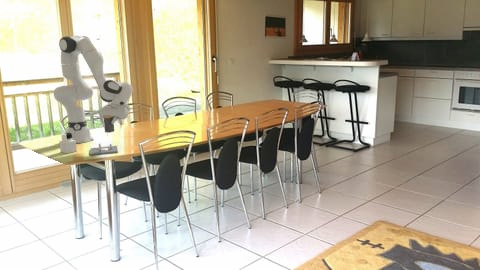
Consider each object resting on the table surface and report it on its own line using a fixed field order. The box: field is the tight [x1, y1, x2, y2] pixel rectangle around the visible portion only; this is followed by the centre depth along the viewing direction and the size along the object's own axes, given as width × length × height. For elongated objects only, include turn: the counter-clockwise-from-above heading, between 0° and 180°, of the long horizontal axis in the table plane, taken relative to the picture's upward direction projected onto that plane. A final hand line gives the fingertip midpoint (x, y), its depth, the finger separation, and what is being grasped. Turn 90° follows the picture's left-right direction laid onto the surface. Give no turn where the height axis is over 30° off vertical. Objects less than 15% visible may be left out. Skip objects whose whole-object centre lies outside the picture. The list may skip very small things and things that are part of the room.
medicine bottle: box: [58, 132, 78, 155], centre depth 265 cm, size 7×7×12 cm
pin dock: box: [89, 143, 119, 156], centre depth 265 cm, size 16×16×4 cm
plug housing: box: [103, 116, 115, 133], centre depth 264 cm, size 4×4×10 cm
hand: (108, 123), depth 263 cm, fingers closed on plug housing, 4 cm apart
